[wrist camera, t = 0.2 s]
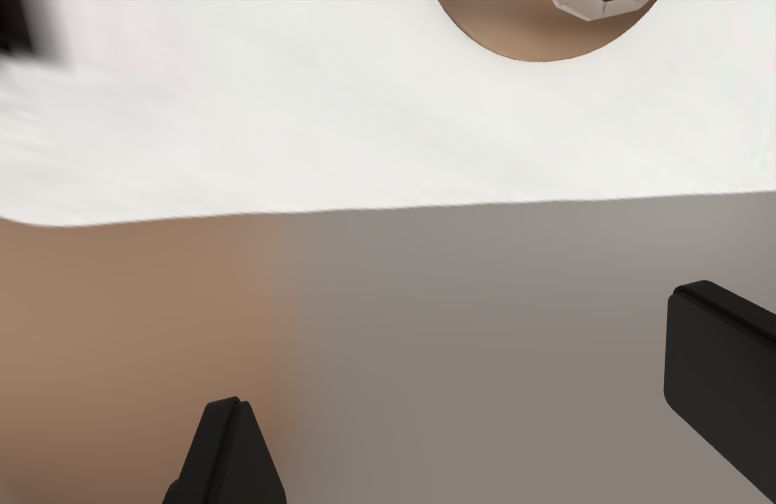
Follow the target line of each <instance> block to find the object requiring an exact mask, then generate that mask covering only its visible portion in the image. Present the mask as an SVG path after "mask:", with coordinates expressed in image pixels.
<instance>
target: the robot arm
mask: <svg viewBox="0 0 776 504" xmlns="http://www.w3.org/2000/svg"><path fill="white" fill-rule="evenodd" d="M667 312H668V313H667V332H666V353H665V373H664V395H665V399H666V401H667V403H668V404H669V406H670V407H671V408H672V409H673V410H674V411H675V412H676V413H677V414H678V415H679V416H681V418H683V419H684V420H685V421H686V422H687V423H688V424H689V425H690V426H691V427H692V428H693V429H694V430H695V431H697V432H698V433H699V434H700V435H701V436H702V437H703V438H704V439H705V440H706V441H707V442H708V443H709V444H711V445H712V446H713V447H714V448H715V449H716V450H717V451H718V452H719V453H720V454H721V455H722V456H723V457H724V458H726V459H727V460H728V461H729V462H730V463H731V464H732V465H733V466H734V467H735V468H736V469H737V470H738V471H740V472H741V473H742V474H743V475H744V476H745V477H746V478H747V479H748V480H749V481H750V482H751V483H753V485H755V486H756V487H757V488H758V489H759V490H760V491H761V492H762V493H763V494H764V495H765V496H766V497H767V498H769V499H770V500H771V501H772V502H773V503H774V504H776V314H774V313H772V312H770V311H768V310H765V309H764V308H762V307H760V306H758V305H756V304H754V303H752V302H750V301H748V300H746V299H744V298H742V297H740V296H738V295H736V294H734V293H732V292H730V291H728V290H726V289H724V288H722V287H720V286H718V285H717V284H715V283H713V282H710V281H707V280H701V281H698V282H694V283H689V284H686V285H681V286H678V287H677V288H675V290H674V292H673V295H671V296H670V297H669V299H668V311H667ZM162 504H287V502H286V496H285V491H284V488H283V486H282V483H281V481H280V478H279V476H278V473H277V471H276V468H275V466H274V463H273V461H272V458H271V456H270V453H269V451H268V448H267V446H266V443H265V441H264V438H263V436H262V433H261V431H260V428H259V426H258V423H257V421H256V418H255V416H254V413H253V411H252V408H251V406H250V404H249V402H248V401H243V402H241V401H240V399H239V398H238V397H235V396H234V397H230V398H226V399H222V400H218V401H214V402H210V403H208V404H207V405H206V407H205V409H204V412H203V415H202V418H201V420H200V423H199V426H198V428H197V431H196V434H195V436H194V439H193V442H192V445H191V447H190V449H189V452H188V455H187V458H186V460H185V463H184V465H183V468H182V471H181V473H180V477H179V479H177V480H175V481H174V482H173V483H172V484H171V485H170V487H169V489H168V491H167V493H166V495H165V498H164V500H163V503H162Z"/></svg>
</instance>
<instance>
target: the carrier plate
mask: <svg viewBox="0 0 776 504" xmlns="http://www.w3.org/2000/svg"><path fill="white" fill-rule="evenodd" d="M438 1H439V3H440V4H441V6H442V8H443V9H444V11H445V12H446V13H447V14H448V16H449V17H450V18H451V19H452V21H453V22H454V23H455V24H456V25H457V26H458V27H459V28H460V29H461V30H462V31H463V32H464V33H465V34H466V35H467V36H468V37H469V38H471V39H472V40H474V41H475V42H477V43H478V44H480V45H481V46H482V47H484V48H486V49H488V50H490V51H492V52H494V53H496V54H498V55H501V56H504V57H508V58H511V59H514V60H521V61H527V62H550V61H558V60H564V59H571V58H574V57H578V56H581V55H585V54H588V53H590V52H592V51H594V50H597V49H599V48H601V47H603V46H605V45H607V44H608V43H610V42H612V41H613V40H615V39H616V38H618V37H620V36H621V35H622V34H623V33H625V32H626V31H627V30H629V29H630V28H631V27H632V26H634V25H635V24H636V23H637V22H638V21H639V20H640V19H641V18H642V17H643V16H644V15H645V14H646V13H647V12H648V11H649V10H650V8H651V7H652V6H653V5H654V3H655V2H656V1H657V0H438Z"/></svg>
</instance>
